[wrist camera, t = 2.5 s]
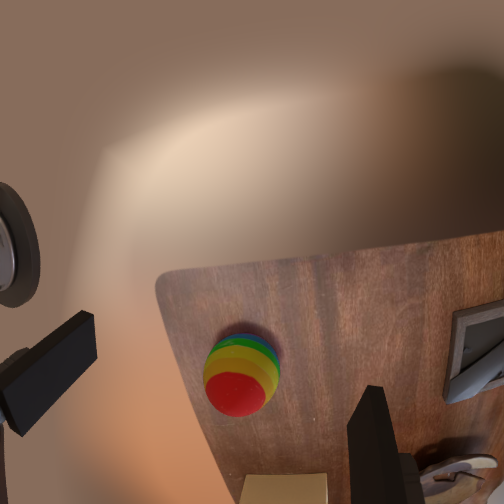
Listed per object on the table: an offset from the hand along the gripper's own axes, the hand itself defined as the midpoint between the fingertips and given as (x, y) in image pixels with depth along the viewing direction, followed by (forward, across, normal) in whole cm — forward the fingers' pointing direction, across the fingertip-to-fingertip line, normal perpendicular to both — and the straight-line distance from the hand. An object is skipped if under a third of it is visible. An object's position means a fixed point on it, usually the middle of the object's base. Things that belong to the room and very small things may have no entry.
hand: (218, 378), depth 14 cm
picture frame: (+21, +33, -5) cm, 40 cm away
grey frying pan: (+21, +39, -37) cm, 58 cm away
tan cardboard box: (+21, +13, -44) cm, 51 cm away
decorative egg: (+21, 0, -13) cm, 25 cm away
